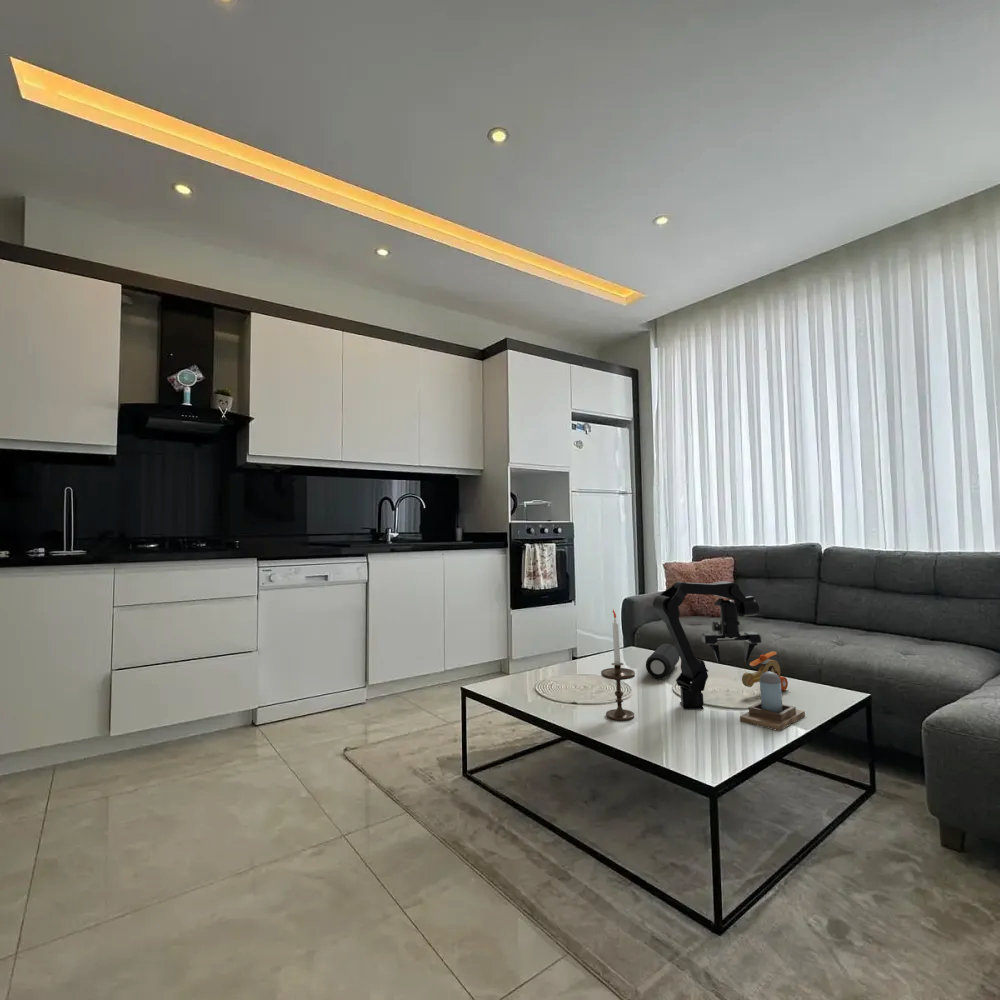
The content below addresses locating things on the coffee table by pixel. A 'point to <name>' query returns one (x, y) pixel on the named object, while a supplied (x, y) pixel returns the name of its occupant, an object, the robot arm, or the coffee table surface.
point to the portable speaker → (662, 661)
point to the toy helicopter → (766, 666)
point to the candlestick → (618, 679)
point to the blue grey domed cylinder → (771, 692)
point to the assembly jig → (771, 716)
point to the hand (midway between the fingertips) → (732, 662)
